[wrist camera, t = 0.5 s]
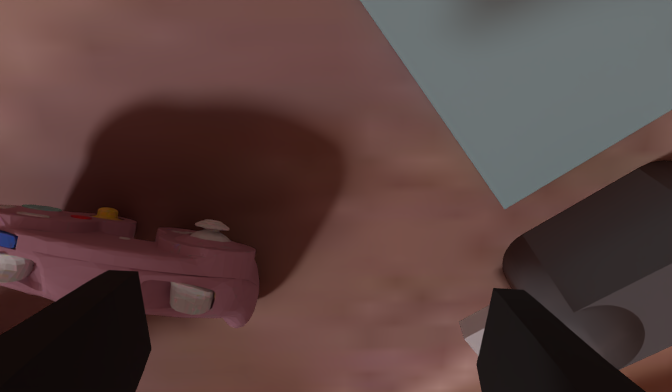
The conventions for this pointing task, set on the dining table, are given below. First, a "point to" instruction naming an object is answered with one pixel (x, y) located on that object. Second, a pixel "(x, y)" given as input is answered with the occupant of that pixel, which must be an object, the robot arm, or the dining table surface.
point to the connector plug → (602, 268)
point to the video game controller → (129, 261)
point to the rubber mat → (535, 77)
